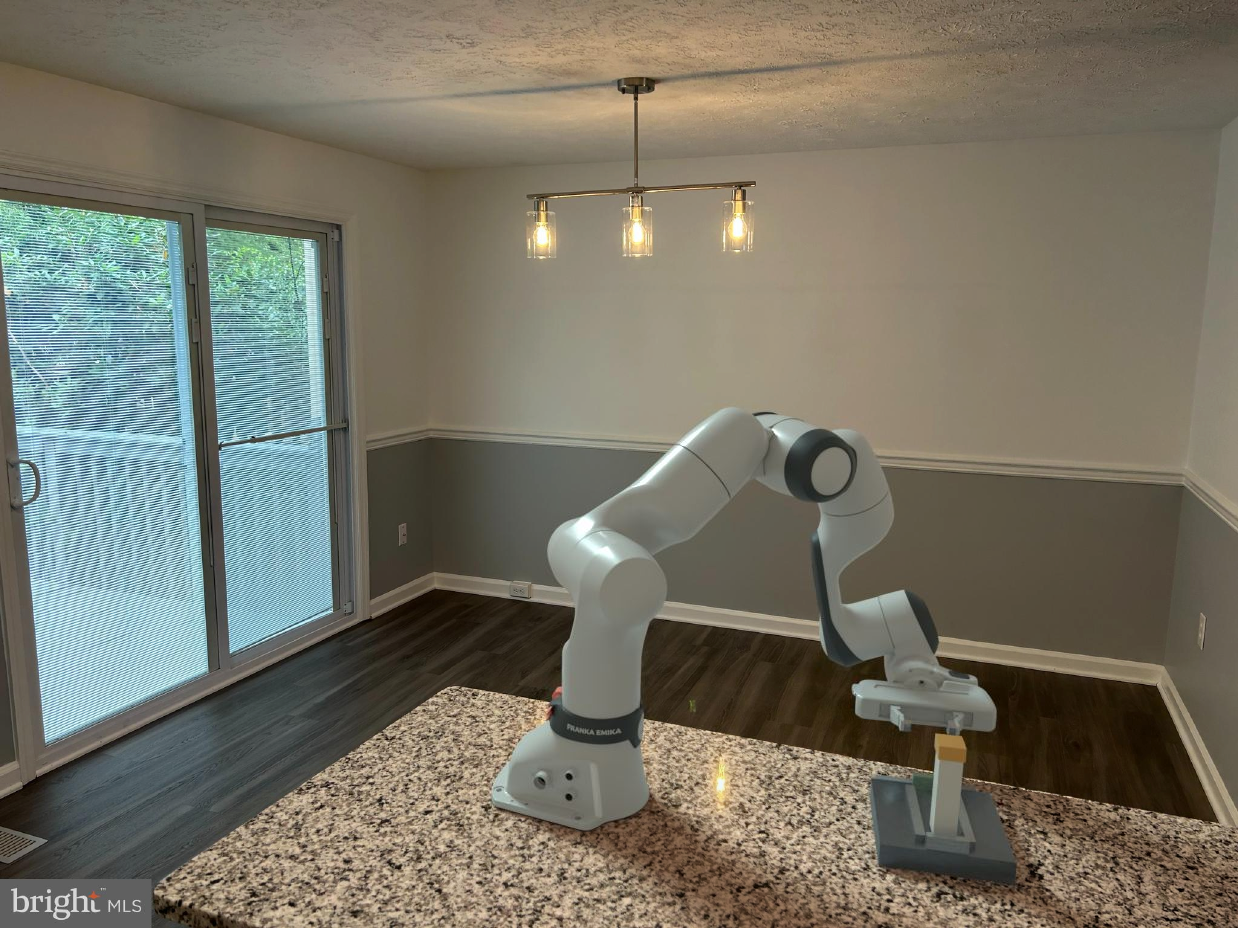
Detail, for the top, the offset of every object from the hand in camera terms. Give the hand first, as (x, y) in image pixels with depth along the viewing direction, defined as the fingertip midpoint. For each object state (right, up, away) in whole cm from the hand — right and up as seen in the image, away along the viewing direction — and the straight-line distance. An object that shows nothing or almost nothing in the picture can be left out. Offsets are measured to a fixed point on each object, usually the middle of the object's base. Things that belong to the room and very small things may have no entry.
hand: (929, 729), depth 125 cm
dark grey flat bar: (-1, -10, 0) cm, 10 cm away
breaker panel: (-3, -11, -10) cm, 15 cm away
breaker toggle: (-3, -9, -14) cm, 17 cm away
